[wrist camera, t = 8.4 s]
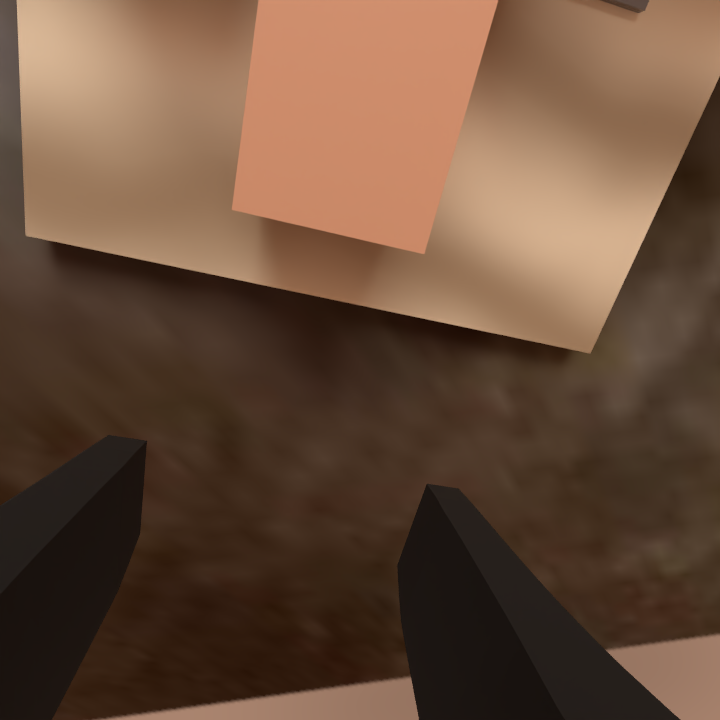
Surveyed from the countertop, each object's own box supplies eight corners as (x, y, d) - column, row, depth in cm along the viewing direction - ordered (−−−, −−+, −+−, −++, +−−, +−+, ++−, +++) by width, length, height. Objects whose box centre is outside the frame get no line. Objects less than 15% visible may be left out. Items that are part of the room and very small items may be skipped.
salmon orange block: (393, 218, 15) (424, 253, 10) (261, 186, 14) (231, 209, 10) (467, -66, 12) (553, -191, 7) (307, -121, 11) (295, -294, 7)
